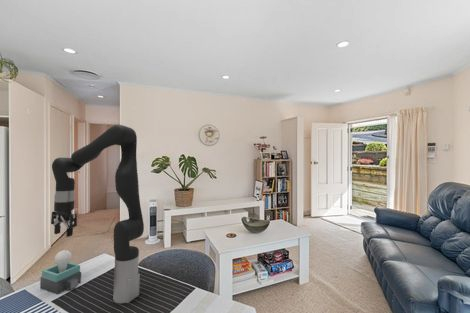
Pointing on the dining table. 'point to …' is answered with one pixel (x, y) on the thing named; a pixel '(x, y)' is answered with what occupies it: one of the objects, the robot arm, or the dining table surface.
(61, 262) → the lightbulb
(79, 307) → the dining table surface
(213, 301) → the dining table surface
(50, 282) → the teal and grey box
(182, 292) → the dining table surface
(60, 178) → the robot arm
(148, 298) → the dining table surface
